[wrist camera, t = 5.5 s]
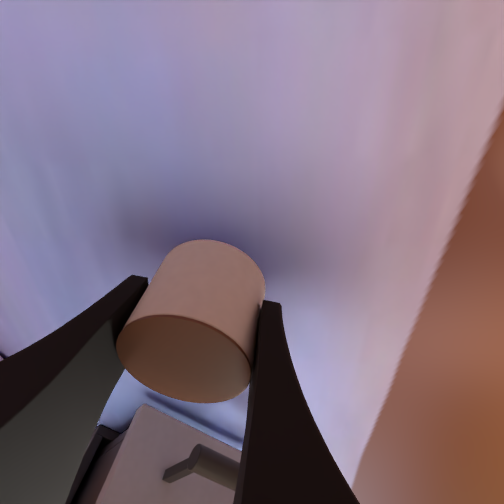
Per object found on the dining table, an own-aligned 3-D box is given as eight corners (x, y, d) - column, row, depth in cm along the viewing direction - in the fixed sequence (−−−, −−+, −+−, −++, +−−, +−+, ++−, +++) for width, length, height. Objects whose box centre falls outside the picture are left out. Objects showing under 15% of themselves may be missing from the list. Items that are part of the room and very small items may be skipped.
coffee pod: (141, 254, 13) (88, 330, 10) (238, 225, 12) (211, 304, 9) (193, 326, 16) (162, 407, 12) (281, 309, 14) (271, 397, 11)
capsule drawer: (177, 375, 19) (134, 490, 14) (332, 458, 22) (337, 574, 18) (88, 449, 28) (44, 535, 23) (208, 501, 31) (189, 586, 26)
